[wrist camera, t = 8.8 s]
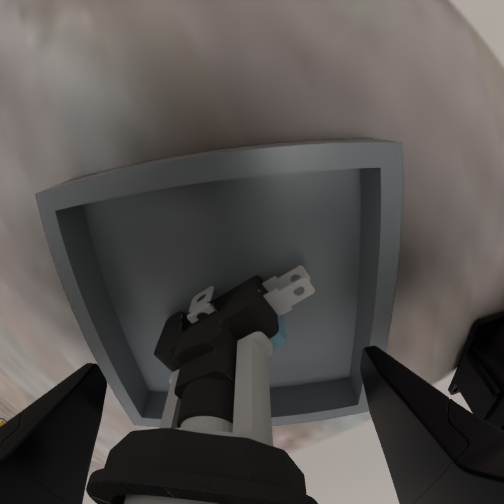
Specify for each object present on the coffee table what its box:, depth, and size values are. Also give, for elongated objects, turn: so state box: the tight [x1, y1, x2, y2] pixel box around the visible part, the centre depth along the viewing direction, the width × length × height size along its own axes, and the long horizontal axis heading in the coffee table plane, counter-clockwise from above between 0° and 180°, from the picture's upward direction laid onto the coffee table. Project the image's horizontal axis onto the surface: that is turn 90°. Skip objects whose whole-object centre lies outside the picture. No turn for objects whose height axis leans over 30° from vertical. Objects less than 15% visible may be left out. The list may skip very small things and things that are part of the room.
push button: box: [86, 265, 318, 504], centre depth 8 cm, size 7×5×10 cm
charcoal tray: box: [35, 139, 403, 427], centre depth 12 cm, size 13×13×2 cm
